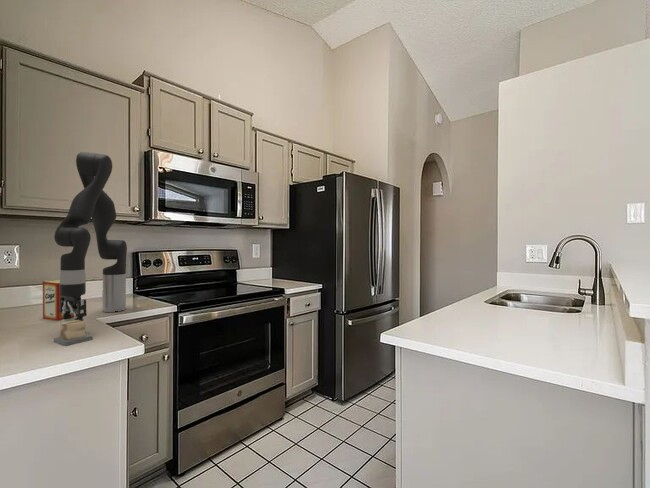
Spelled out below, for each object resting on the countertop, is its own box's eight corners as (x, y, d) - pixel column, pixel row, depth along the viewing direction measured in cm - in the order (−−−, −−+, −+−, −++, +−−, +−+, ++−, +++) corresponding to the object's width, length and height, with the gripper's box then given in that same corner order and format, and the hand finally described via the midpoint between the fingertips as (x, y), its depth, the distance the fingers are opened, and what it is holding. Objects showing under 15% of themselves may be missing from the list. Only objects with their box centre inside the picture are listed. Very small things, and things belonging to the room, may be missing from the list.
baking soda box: (74, 317, 142) (74, 280, 141) (57, 320, 135) (57, 282, 135) (60, 315, 145) (59, 278, 144) (42, 318, 139) (42, 280, 138)
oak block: (60, 337, 110) (60, 322, 110) (77, 333, 115) (77, 319, 114) (68, 340, 108) (68, 325, 108) (85, 336, 112) (85, 321, 112)
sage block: (61, 333, 119) (61, 320, 119) (77, 330, 123) (77, 317, 123) (67, 336, 116) (67, 322, 116) (83, 332, 121) (83, 319, 120)
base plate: (53, 341, 110) (53, 338, 110) (80, 335, 117) (80, 332, 117) (65, 345, 106) (64, 342, 106) (92, 339, 113) (92, 335, 113)
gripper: (94, 282, 119) (94, 327, 119) (75, 279, 126) (75, 321, 126) (70, 284, 112) (70, 332, 113) (51, 281, 119) (51, 326, 120)
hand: (72, 326), depth 119 cm, fingers open, 8 cm apart
